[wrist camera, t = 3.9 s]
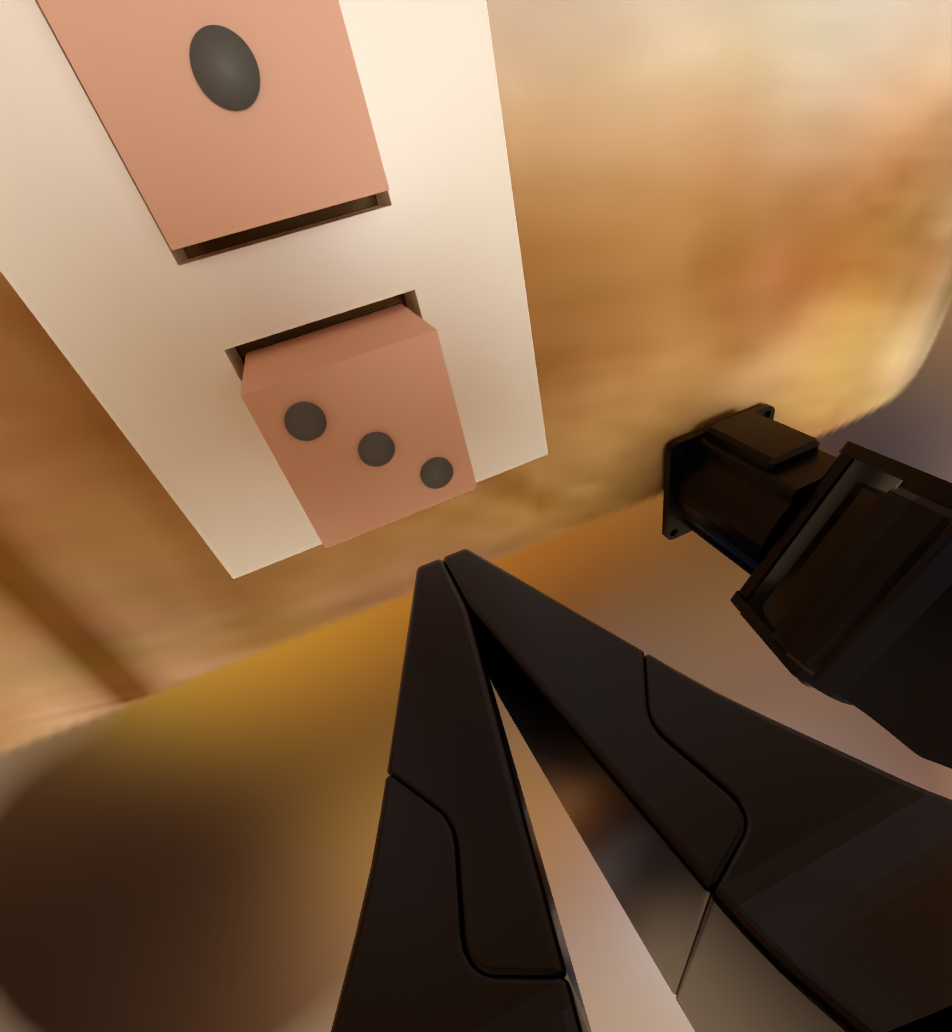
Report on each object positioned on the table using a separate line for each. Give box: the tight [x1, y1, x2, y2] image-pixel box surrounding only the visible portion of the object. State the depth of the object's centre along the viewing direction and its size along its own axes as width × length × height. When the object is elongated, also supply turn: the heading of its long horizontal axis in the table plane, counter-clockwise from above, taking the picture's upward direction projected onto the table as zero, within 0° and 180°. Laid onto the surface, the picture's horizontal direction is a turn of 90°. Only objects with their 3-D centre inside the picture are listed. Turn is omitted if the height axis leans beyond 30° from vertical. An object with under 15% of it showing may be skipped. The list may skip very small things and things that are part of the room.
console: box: [0, 0, 548, 579], centre depth 12 cm, size 25×13×2 cm, turn 15°
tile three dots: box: [241, 304, 478, 549], centre depth 15 cm, size 5×5×4 cm
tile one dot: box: [37, 0, 389, 250], centre depth 11 cm, size 5×5×4 cm
